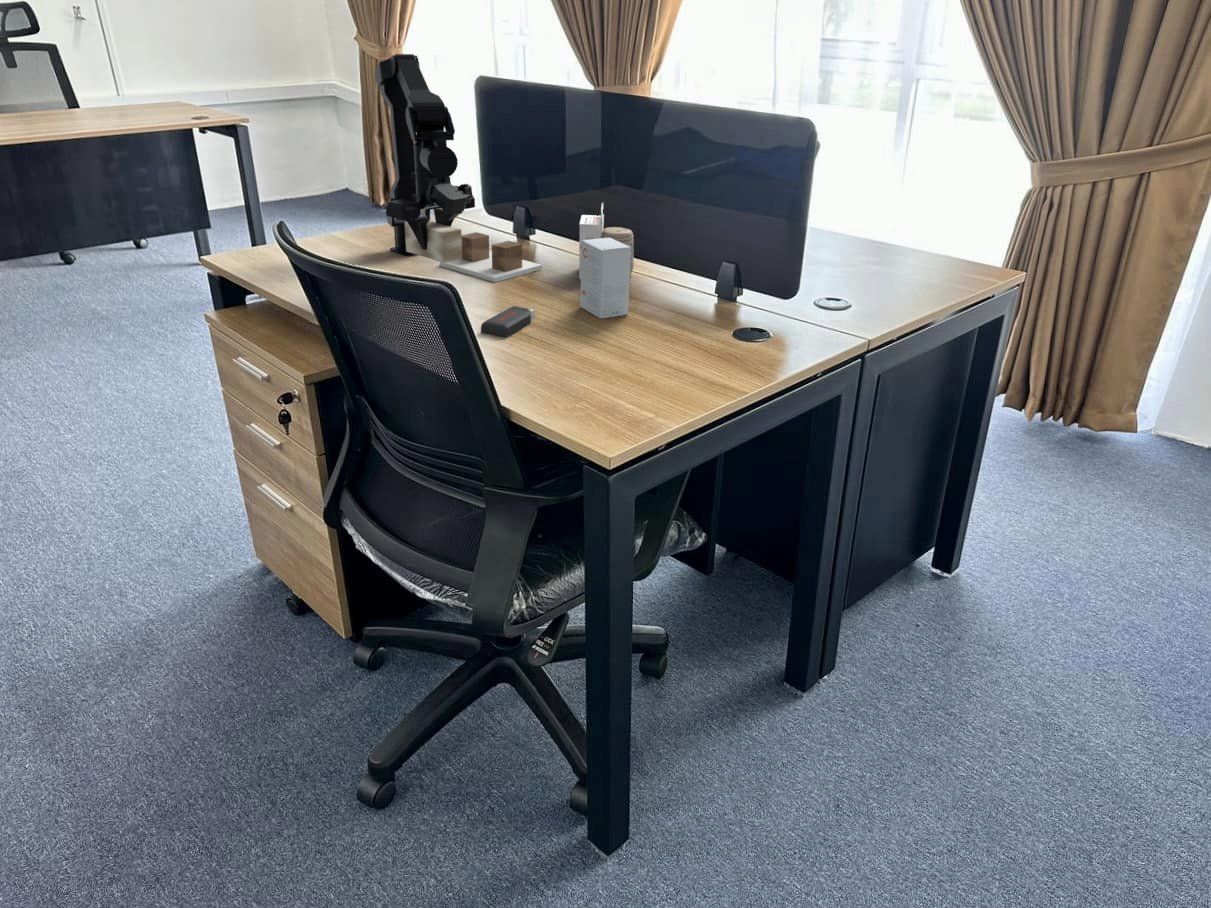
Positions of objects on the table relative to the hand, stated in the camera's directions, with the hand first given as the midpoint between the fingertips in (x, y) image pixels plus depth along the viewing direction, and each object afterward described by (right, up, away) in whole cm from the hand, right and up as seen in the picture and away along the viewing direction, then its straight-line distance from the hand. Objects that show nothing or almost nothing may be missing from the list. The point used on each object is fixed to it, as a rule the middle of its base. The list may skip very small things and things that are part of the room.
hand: (433, 247), depth 191 cm
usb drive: (+18, -19, -21) cm, 34 cm away
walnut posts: (+10, -2, +12) cm, 16 cm away
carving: (+37, -8, +2) cm, 38 cm away
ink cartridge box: (+32, -4, +10) cm, 33 cm away
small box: (+35, -15, -12) cm, 40 cm away
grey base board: (+10, -2, +12) cm, 16 cm away
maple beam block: (0, -1, +1) cm, 2 cm away
